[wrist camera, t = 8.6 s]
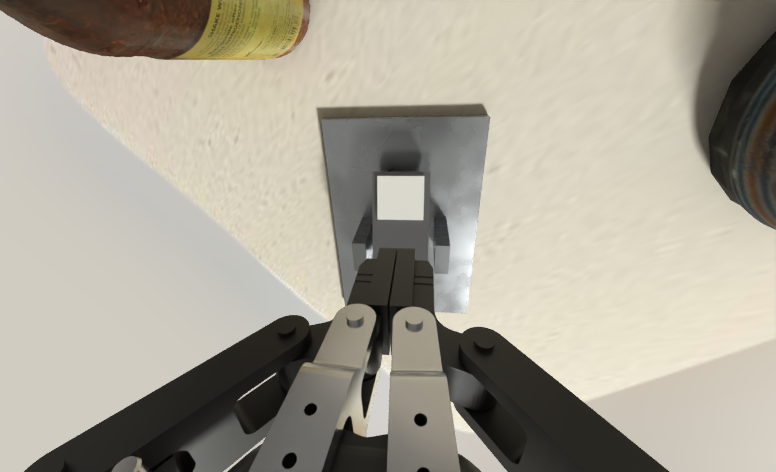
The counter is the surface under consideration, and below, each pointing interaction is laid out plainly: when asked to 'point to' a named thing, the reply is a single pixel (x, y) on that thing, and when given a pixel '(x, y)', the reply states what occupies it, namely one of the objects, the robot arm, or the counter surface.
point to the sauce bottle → (169, 26)
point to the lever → (401, 211)
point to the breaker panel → (410, 154)
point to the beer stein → (749, 137)
